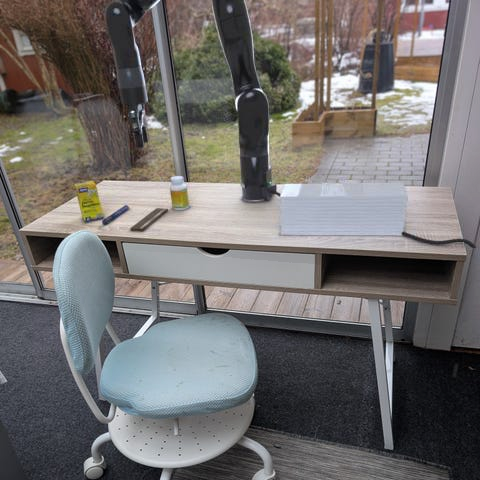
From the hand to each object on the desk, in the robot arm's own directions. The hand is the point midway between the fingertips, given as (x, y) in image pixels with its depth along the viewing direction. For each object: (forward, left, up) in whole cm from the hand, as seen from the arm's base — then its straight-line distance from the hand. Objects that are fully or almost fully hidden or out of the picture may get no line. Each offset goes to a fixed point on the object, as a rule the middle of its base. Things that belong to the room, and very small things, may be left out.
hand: (142, 144), depth 143 cm
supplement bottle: (-8, -3, -21) cm, 22 cm away
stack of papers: (-61, +6, -21) cm, 65 cm away
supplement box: (+17, +10, -21) cm, 28 cm away
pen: (+9, +8, -20) cm, 24 cm away
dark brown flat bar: (-3, +9, -20) cm, 22 cm away
